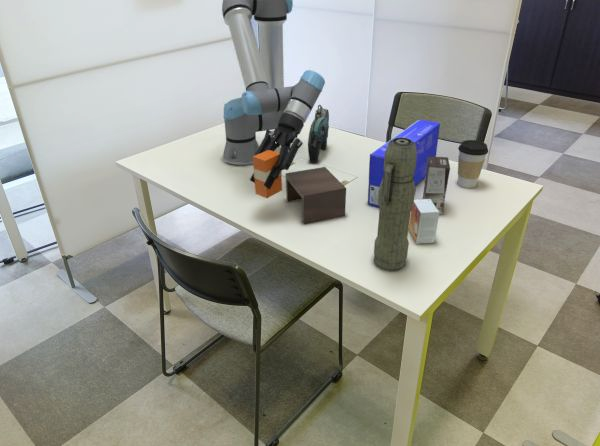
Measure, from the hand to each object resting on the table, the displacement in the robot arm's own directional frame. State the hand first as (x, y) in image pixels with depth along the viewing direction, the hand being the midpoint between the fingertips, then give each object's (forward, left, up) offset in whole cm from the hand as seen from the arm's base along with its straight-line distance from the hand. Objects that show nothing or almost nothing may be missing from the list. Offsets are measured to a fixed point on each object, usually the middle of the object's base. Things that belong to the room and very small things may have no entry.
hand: (259, 184), depth 146 cm
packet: (-2, +3, -4) cm, 6 cm away
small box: (+27, +41, -12) cm, 51 cm away
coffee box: (+13, +54, -12) cm, 57 cm away
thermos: (+35, +26, -12) cm, 45 cm away
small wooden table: (0, +18, -12) cm, 22 cm away
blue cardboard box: (-4, +53, -12) cm, 55 cm away
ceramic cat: (-41, +36, -12) cm, 56 cm away
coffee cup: (+3, +75, -12) cm, 76 cm away
